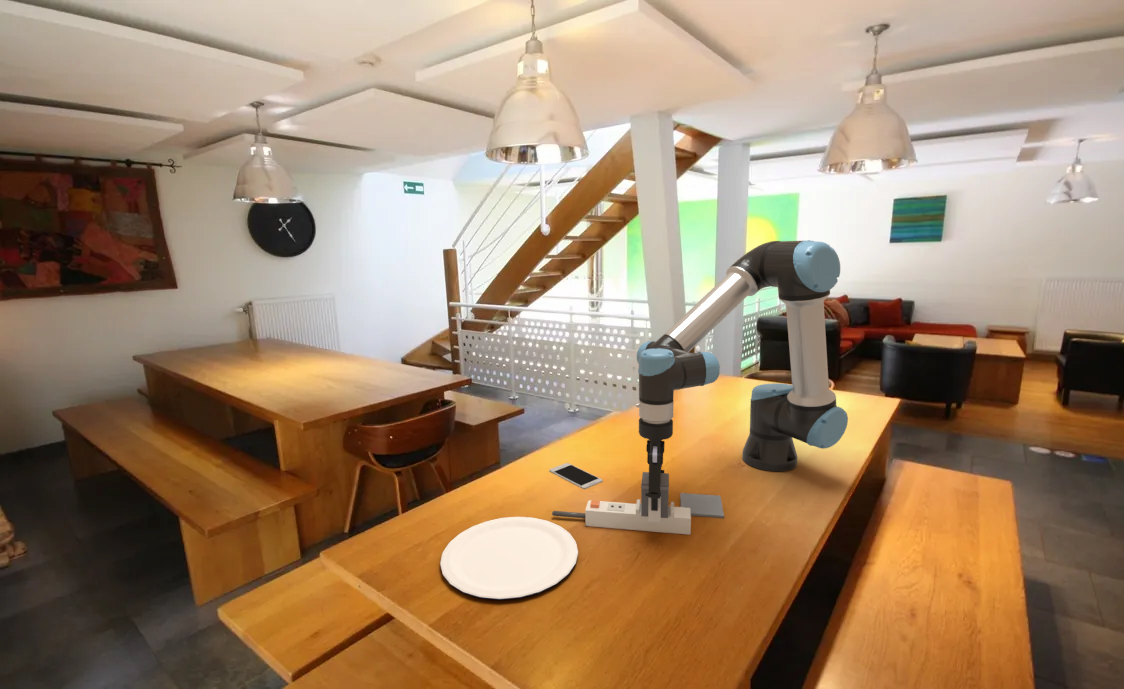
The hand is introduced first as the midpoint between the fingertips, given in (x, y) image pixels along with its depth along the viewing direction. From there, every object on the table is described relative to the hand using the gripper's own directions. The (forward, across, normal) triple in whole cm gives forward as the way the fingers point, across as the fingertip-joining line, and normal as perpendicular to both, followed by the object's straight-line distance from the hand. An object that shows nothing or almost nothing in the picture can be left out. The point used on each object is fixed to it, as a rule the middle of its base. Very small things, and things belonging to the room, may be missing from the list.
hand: (655, 510), depth 122 cm
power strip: (+4, 0, -8) cm, 9 cm away
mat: (+4, -11, +11) cm, 16 cm away
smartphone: (+4, -23, -23) cm, 33 cm away
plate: (+4, +17, -30) cm, 35 cm away
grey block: (0, 0, 0) cm, 0 cm away
